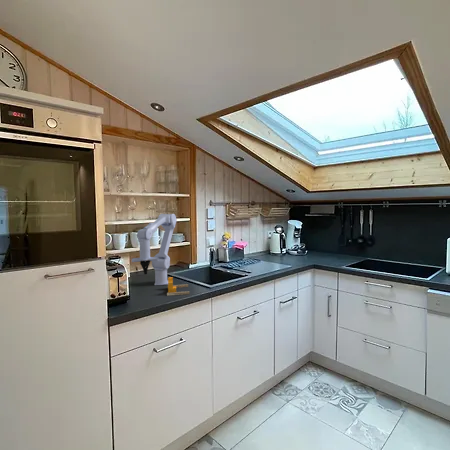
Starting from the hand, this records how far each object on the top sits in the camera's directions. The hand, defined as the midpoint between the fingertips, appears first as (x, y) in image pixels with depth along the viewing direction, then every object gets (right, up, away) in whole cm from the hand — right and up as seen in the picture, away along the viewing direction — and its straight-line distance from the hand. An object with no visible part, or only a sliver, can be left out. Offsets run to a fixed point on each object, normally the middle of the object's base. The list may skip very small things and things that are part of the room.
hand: (145, 274), depth 172 cm
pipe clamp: (+15, -10, -1) cm, 18 cm away
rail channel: (+19, -9, -1) cm, 21 cm away
